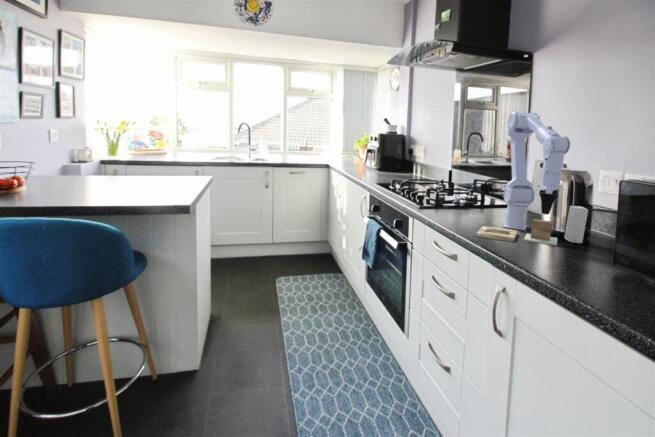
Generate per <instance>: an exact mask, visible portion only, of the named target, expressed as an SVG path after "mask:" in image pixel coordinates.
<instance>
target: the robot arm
mask: <svg viewBox="0 0 655 437" xmlns="http://www.w3.org/2000/svg"><path fill="white" fill-rule="evenodd" d="M506 125H507V136H509V137H510V158H511V180H510V181H508V182H507V183H506V184H505V185H504V191H503V192H504V193H503V200H504V202H505V203H506V205H507V208H506V214H505V220H504V224H503V225H502V228H504V229H507V228H508V229H511V230H513V229H514V230H519V231H520V230H521V231H526V229H527V226H528V225H527V224H526V221H527V214H528V208H529V207H530V206H531V205H532V204H533V202H534V201H535V198H536V193H535V190H534V184H533V183H532V182H531V181H530V180H528V178H527V161H526V160H527V159H526V157H527V156H526V139H527V138H530V137H531V135H533V133H534V134H535V138H536V139H537V141H538V142H539V143H540V144H541V145H542V152H543V154H542V157H543V166H542V173H541V178H540V184H538V183H536V186H535V187H539V188H540V189H538V190H539V193H538V194H539V196H540V203H541V204H540V205H541V209H540V210H541V214H542V215H549V214H550V213H551V209H552V208H553V205H554V202H555V201H556V199H557V197H559V194H558V190H560V182H561V176H562V171H563V165H564V158H565V155H566V154H567V153H569V150H570V146H571V141H570V138H569V137H568V136H566V135H564V136H561V135H560V134H559V132H556V131H555V130H554V129H553V126H552V125H545V124H544V123H543V122H542V120H541V115H539V113H537V112H520V111H519V112H518V111H512V112H510V114H509V115H508V119H507V122H506Z"/></svg>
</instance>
